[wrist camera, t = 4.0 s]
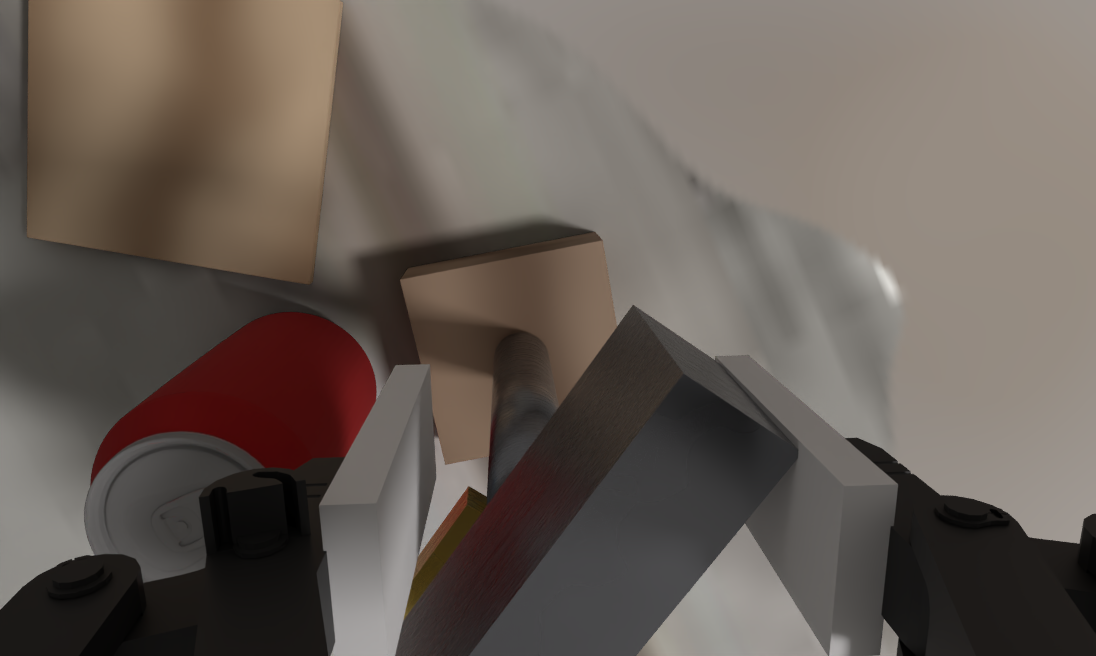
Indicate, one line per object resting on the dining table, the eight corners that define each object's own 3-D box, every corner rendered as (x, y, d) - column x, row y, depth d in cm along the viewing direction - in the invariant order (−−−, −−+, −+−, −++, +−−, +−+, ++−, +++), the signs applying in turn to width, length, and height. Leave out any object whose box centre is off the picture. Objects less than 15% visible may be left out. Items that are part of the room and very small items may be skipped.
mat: (36, 235, 29) (26, 237, 29) (39, -61, 26) (28, -65, 26) (312, 281, 30) (309, 284, 30) (343, 3, 28) (339, 0, 27)
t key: (404, 571, 31) (290, 1076, 14) (356, 545, 31) (180, 1035, 14) (626, 262, 28) (802, 452, 11) (576, 227, 28) (684, 373, 11)
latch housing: (449, 439, 33) (445, 464, 30) (408, 267, 30) (399, 279, 28) (624, 405, 33) (633, 427, 30) (594, 231, 30) (602, 240, 28)
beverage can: (191, 346, 31) (3, 476, 19) (333, 280, 30) (228, 372, 19) (273, 476, 33) (145, 666, 21) (407, 415, 32) (353, 575, 21)
